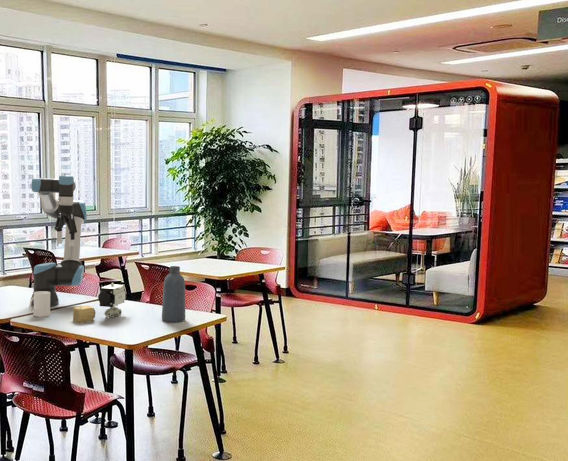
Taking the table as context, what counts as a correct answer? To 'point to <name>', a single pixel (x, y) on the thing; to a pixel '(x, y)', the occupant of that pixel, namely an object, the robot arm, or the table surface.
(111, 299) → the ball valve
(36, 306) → the mug
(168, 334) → the table surface
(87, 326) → the table surface
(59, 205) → the robot arm
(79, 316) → the tan block
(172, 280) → the gray bottle
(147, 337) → the table surface
